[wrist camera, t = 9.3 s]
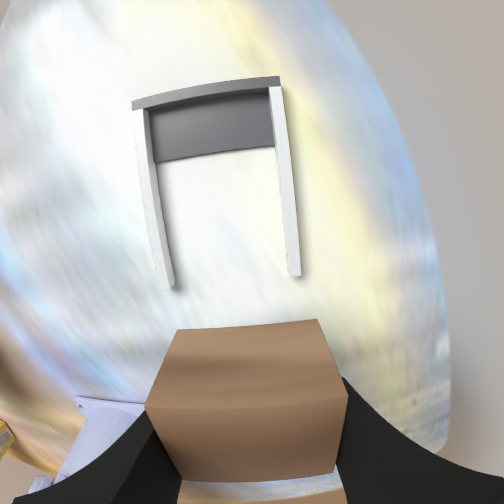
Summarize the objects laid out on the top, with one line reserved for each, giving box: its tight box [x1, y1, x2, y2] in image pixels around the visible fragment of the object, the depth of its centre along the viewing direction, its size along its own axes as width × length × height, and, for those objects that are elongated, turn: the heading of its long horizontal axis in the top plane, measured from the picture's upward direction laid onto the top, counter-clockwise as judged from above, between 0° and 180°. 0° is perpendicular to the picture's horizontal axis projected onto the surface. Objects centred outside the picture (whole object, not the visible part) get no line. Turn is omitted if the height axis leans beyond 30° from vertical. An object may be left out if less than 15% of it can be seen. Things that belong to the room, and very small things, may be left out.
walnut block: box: [144, 319, 348, 482], centre depth 8 cm, size 4×5×4 cm
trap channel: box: [132, 76, 301, 291], centre depth 14 cm, size 11×8×1 cm
